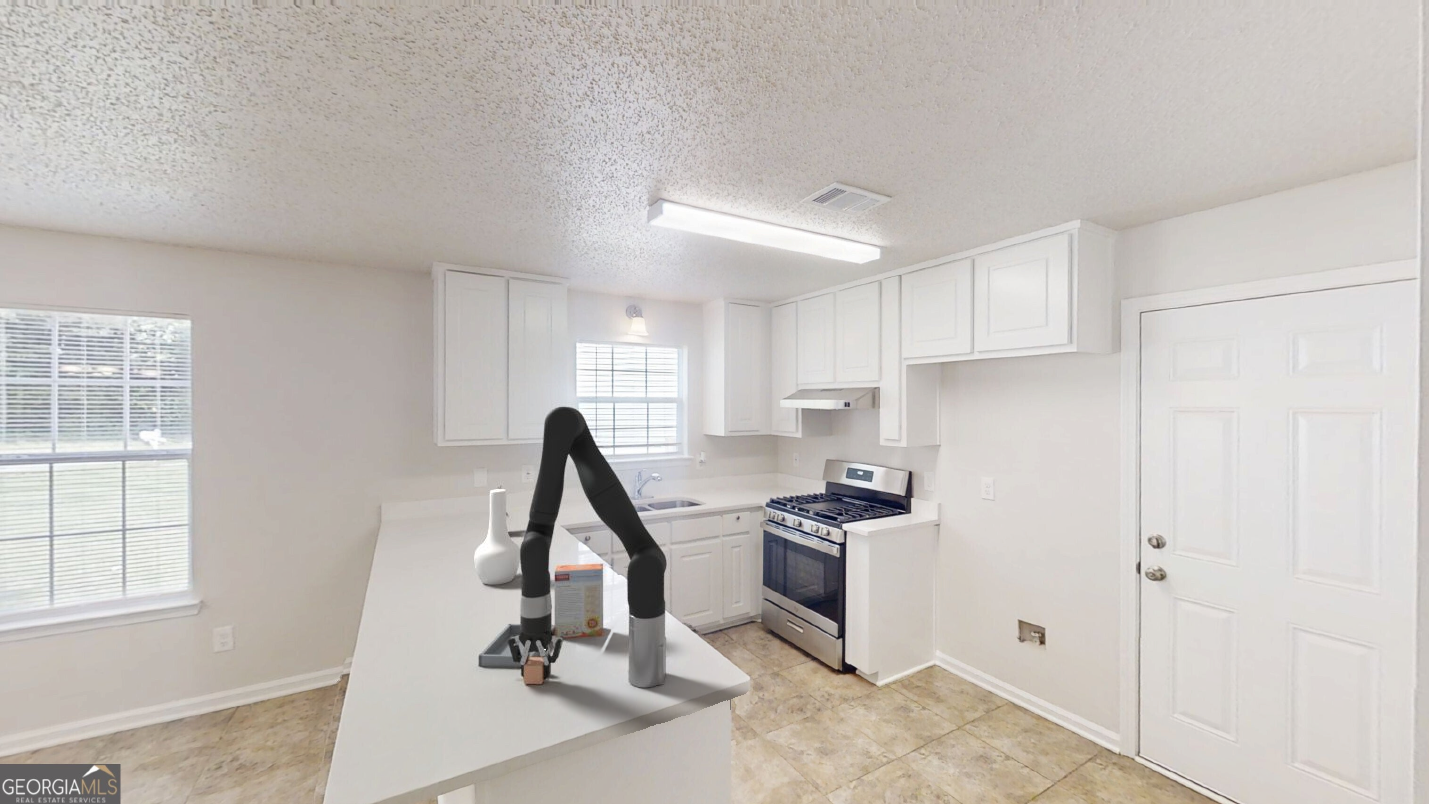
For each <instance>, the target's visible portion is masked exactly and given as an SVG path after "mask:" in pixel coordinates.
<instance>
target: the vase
mask: <svg viewBox="0 0 1429 804" xmlns="http://www.w3.org/2000/svg"><path fill="white" fill-rule="evenodd" d="M506 512H507V490H506V489H502V488H501V489H500V488H499V489H498V488H497V489H491V490H490V491H489V522H488V523H489V524H488V531H487V536H486V539H485V540H484V542H482V543H481V544H480V545H479V546H478V547H477V549H475V552H474V557H473V558H474V559H473V560H474V566H475V570H476V574H477V576H478V578H479V580H480V582H481V583H483V584H484V585H487V586H488V585H489V586H492V585H495V586H496V585H503V584H506V583H509V582H511V581H512V580H513V579H514V578H515V576H516V574H517V573H518V570H519V567H520V564H521V563H520V546H519V544H518V543H517V542H515V541H514V540H512V538H511V537H510V534H509V532H508V525H507V524H508V522H507V518H506Z"/></svg>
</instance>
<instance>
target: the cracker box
mask: <svg viewBox="0 0 1429 804" xmlns="http://www.w3.org/2000/svg"><path fill="white" fill-rule="evenodd" d="M554 625H555V635H554V636H556V637H560V636H563V637H564V639H571V638H573V639H574V638H586V637H587V638H588V637H589V638H591V637H601V636H602V637H603V634H604V564H603V563H585V564H567V565H566V564H565V565H556V568H555V571H554Z"/></svg>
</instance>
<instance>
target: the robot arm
mask: <svg viewBox="0 0 1429 804" xmlns="http://www.w3.org/2000/svg"><path fill="white" fill-rule="evenodd" d="M543 425H544V426H543V437H542V440H543V441H542V451H541V459H540V465H539V470H538V474H537V479H536V483H535V487H534V492H533V495H532V500H531V504H530V507H529V514H528V519H529V520H528V523H527V527H526V530H525V533H524V537H523V540H522V542H521V544H520V546H519V548H520V563H519V564H520V570H521V582H520V583H521V593H520V594H521V595H520V608H519V610H520V612H519V616H520V617H519V618H520V623H519V624H520V630H521V632H520V635H519V636H515V635H513V636H512V637H511V638H510V639H509V640H508V644H509V648H510V651H511V654H512V658H513V661H514V662H519V663H520V664H521V667H520V676H521V677H522V679H523V680H524V665H525V664H526V662H527V661H528V658H529V655H530V652H534V651H535V652H539V653H540V656H539V657H542V659H543V662H544V665H543V679H545V680H547V679H548V678H549V677H550V675H551V673H552V664H555V663H556V662H557V660H558V658H559V656H560V653H561V650H562V645H563V643H564V640H565V638H564V637H563V636H560V637H556V636H555V635H554V636H553V633H552V630H551V627H552V625H553V624H552V617H553V616H552V615H553V614H552V611H553V610H552V609H553V604H552V602H553V601H552V594H551V573H550V571H549V570H550V552H551V545H552V542H553V536H554V532H555V525H556V521H557V519H558V516H559V513H560V508H561V504H562V503H561V502H562V499H563V495H564V486H565V472H566V467H567V461H568V457H569V458H571V460H572V462H573V464H574V466H575V468H576V471H577V475H578V478H579V482H580V484H581V487H582V490H583V493H584V495H585V496H586V499H587V500H588V503H590V506H591V507H592V509H593V510H594V512H595V514H596V515H597V516H598V518H599V519H600V520H601V521H602V522H603V524H605V525H606V526H607V528H609V529H610V530H611V531H612V532H613V533H614V534H615V536H616V537H617V538H618V539H619V541H620V542H621V543H622V545H623V547H624V549H625V551H626V554H627V555H628V557H629V560H630V561H629V563H628V565H627V571H626V572H627V573H626V575H627V577H626V578H627V579H626V585H627V586H626V588H627V589H626V590H627V591H626V592H627V596H626V597H627V604H628V670H627V672H628V682H629V683H630V684H631V686H634V687H638V688H654V687H656V686H660V685H662V686H663V685H664V683H665V679H666V678H665V677H666V674H667V636H666V601H665V573H666V570H667V566H668V564H667V557H666V554H665V553H664V551H663V550H662V549H661V547H660V545H659V544H658V543H657V542H656V541H655V540H656V539H654V538H653V536H652V535H651V534H650V532H649V531H648V530H647V528H646V526H645V525H644V523H643V521H642V519H641V517H640V515H639V514H638V511H637V509H636V507H635V505H634V504H633V502H632V500H631V498H630V497H629V494H628V493H627V491H626V489H625V488H624V486H623V484H622V482H621V481H620V479H619V477H618V476H617V474H616V472H615V471H614V470H613V468H612V467H611V464H609V461H607V459H606V457H604V455H603V453H602V452H601V451H600V448H599V447H598V445H597V444H596V441H595V439H594V437H593V435H592V433H591V431H590V428H589V425H588V424H587V421H586V418H585V417H584V416H583V414H582V413H581V412H580V410H578V409H577V408H575V407H571V406H558V407H555V408H553V409H551V410H550V411H549V412H548V413H547V415H546V416H545V419H544V423H543ZM519 640H520V642H521V643H522V645H523V646H524V651H523V654H522V655H521V652H520V648H519V645H518V644H519ZM550 643H552V646H553V647H554V648H553V652H552V654H551V649H550V646H549V645H550Z"/></svg>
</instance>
